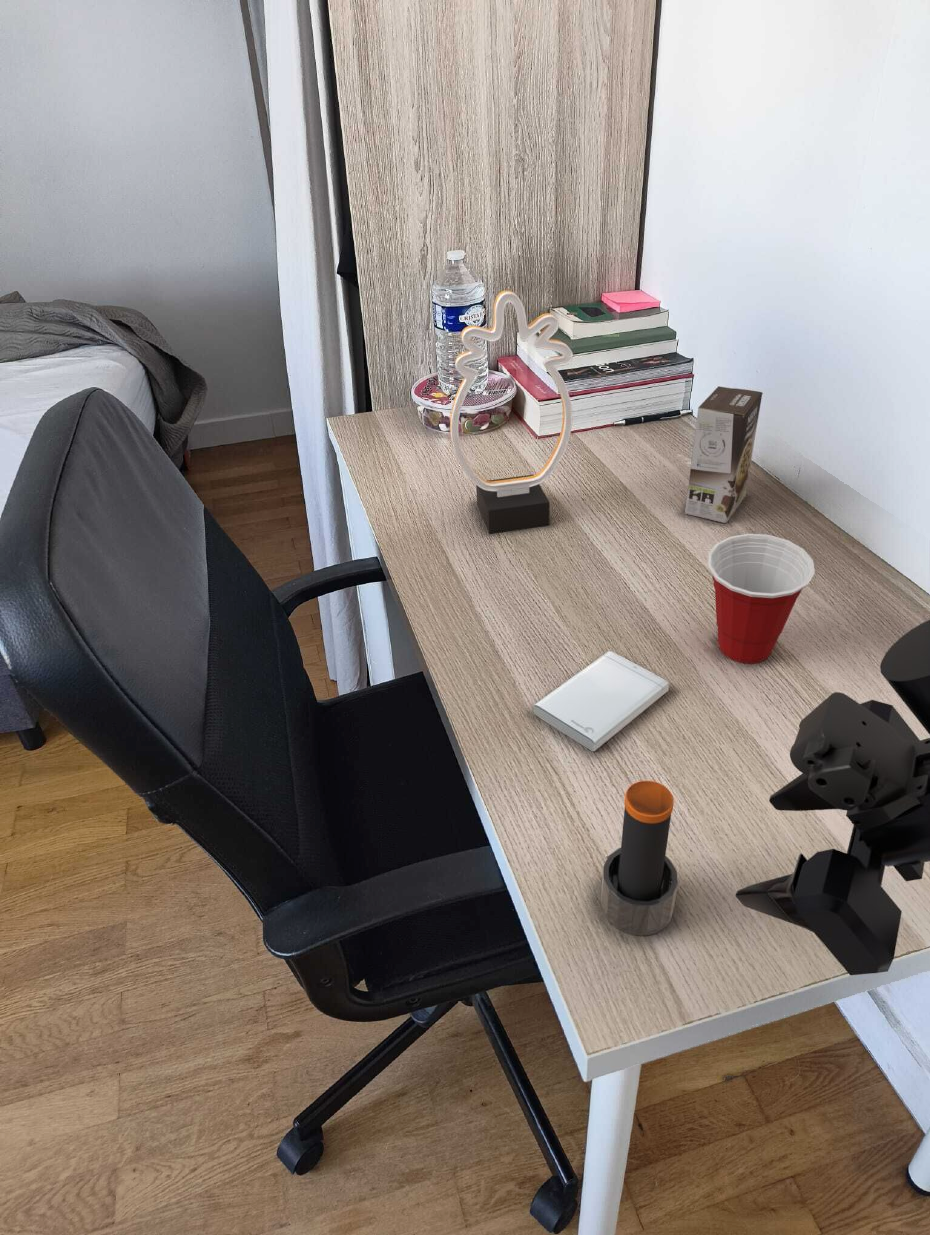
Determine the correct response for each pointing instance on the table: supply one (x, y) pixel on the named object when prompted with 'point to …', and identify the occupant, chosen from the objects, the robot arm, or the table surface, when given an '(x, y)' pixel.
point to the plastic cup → (755, 591)
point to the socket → (632, 913)
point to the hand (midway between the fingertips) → (757, 848)
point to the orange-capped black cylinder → (644, 840)
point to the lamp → (523, 496)
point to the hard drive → (601, 700)
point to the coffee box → (722, 452)
